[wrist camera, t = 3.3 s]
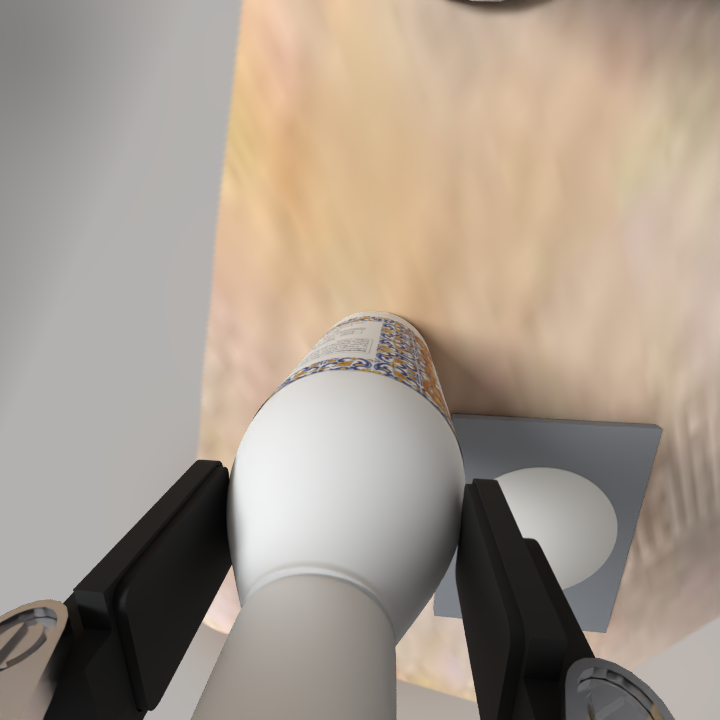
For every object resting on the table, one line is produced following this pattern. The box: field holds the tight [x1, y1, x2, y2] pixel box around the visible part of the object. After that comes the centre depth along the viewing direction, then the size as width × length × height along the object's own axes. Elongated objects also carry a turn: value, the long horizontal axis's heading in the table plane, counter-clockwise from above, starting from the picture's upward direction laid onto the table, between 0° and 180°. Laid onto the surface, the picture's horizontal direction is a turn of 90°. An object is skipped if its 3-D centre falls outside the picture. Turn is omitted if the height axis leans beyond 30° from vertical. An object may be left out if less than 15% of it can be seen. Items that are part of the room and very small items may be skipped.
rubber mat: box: [434, 414, 663, 633], centre depth 24 cm, size 16×12×1 cm
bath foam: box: [191, 311, 465, 720], centre depth 13 cm, size 7×7×20 cm
